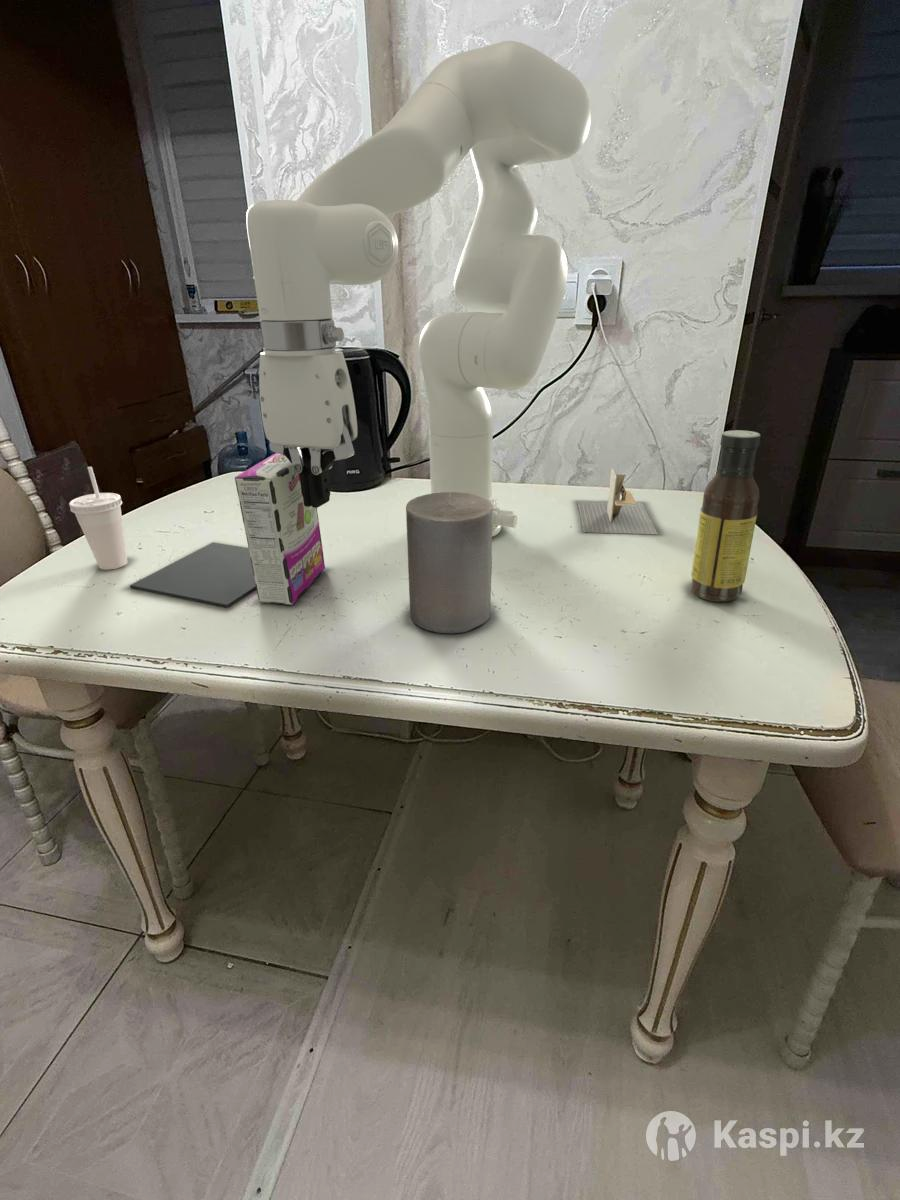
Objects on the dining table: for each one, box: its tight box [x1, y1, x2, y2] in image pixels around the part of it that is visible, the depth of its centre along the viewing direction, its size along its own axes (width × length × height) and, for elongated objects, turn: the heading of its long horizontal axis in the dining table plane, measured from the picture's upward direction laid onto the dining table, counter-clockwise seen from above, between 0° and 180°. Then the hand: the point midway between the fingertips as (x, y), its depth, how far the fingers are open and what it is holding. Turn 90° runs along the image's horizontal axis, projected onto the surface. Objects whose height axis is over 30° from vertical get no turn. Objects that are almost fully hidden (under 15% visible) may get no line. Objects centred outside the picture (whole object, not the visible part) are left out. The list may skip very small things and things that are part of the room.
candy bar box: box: [234, 452, 326, 606], centre depth 78 cm, size 11×5×16 cm, turn 168°
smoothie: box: [68, 466, 128, 571], centre depth 86 cm, size 6×6×14 cm
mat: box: [129, 542, 257, 608], centre depth 86 cm, size 16×16×1 cm
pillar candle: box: [405, 492, 494, 634], centre depth 71 cm, size 10×10×15 cm
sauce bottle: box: [690, 429, 761, 602], centre depth 74 cm, size 6×6×20 cm
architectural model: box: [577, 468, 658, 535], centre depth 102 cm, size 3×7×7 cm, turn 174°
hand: (317, 503), depth 75 cm, fingers closed
